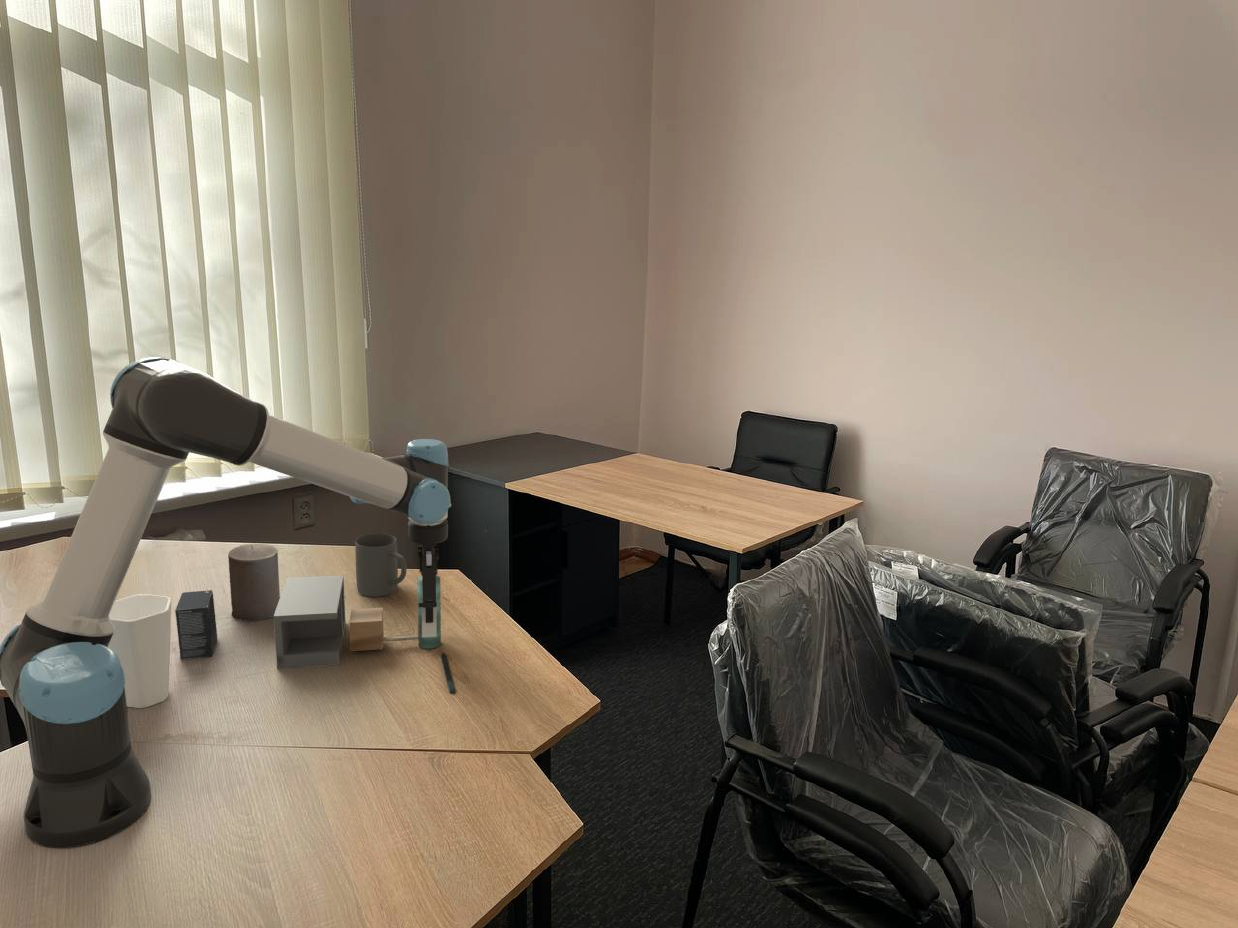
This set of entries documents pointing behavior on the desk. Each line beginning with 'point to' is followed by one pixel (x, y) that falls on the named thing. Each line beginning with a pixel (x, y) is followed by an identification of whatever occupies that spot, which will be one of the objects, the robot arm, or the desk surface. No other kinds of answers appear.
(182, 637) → the box
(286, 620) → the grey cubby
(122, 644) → the cup
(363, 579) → the mug
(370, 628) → the tethered cylinder
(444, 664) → the pen
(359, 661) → the desk surface
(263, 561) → the pillar candle
